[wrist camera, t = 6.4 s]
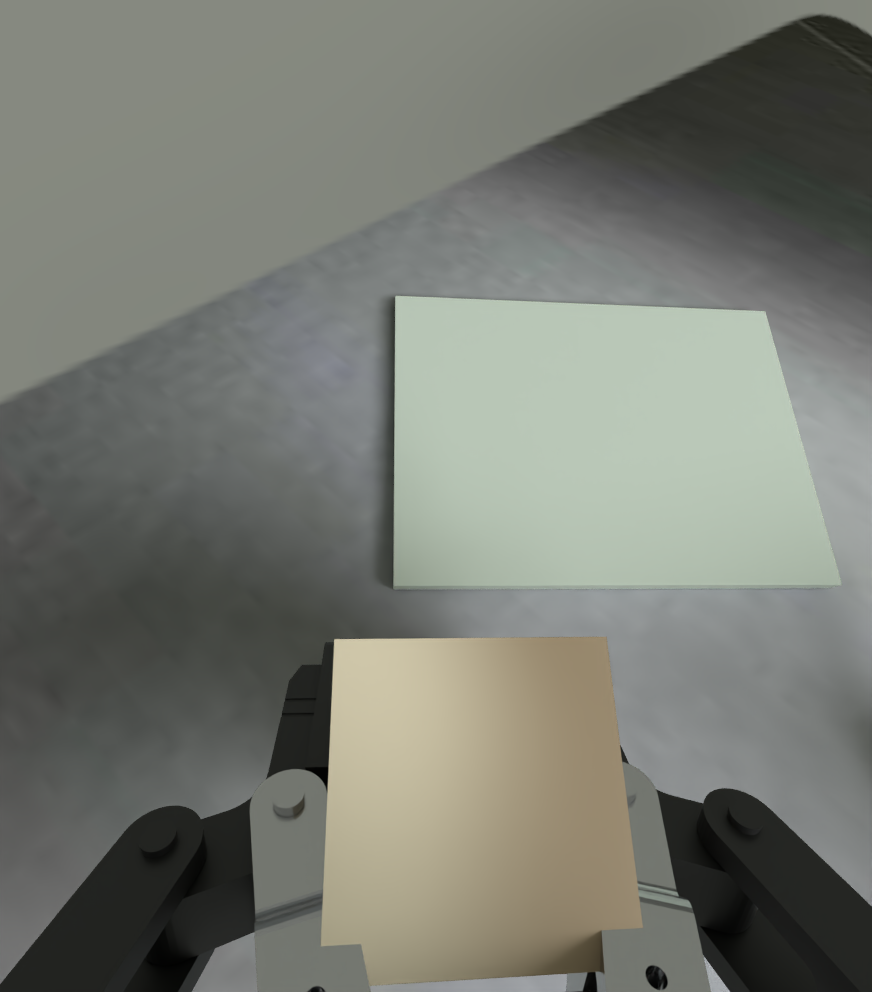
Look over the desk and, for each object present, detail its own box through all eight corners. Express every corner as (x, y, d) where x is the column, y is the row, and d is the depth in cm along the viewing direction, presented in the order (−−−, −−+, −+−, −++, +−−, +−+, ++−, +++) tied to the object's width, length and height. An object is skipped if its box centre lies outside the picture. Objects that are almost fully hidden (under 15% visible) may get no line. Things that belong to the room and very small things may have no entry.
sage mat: (393, 589, 19) (393, 586, 19) (395, 305, 24) (395, 295, 23) (830, 588, 21) (841, 584, 20) (756, 320, 25) (764, 311, 25)
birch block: (358, 824, 17) (318, 989, 7) (361, 682, 18) (334, 639, 8) (491, 819, 17) (648, 968, 7) (484, 681, 19) (606, 637, 8)
